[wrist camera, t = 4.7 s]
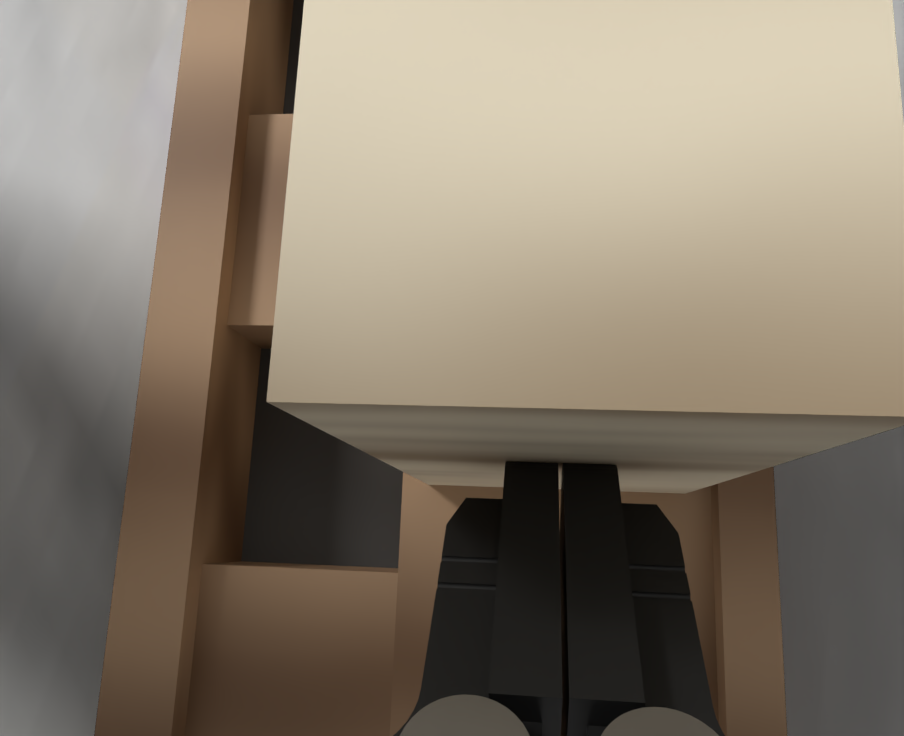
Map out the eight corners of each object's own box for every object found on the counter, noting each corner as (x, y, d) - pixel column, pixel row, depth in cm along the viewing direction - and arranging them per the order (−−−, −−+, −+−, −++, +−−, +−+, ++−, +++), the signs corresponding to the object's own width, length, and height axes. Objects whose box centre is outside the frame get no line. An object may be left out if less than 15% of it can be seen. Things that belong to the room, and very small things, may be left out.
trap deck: (749, 894, 15) (880, 1111, 10) (153, 842, 17) (-51, 1004, 11) (701, -312, 22) (760, -622, 16) (275, -277, 23) (187, -549, 17)
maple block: (685, 493, 15) (930, 417, 6) (427, 484, 15) (266, 401, 6) (674, 34, 17) (839, -568, 8) (449, 41, 18) (352, -513, 8)
